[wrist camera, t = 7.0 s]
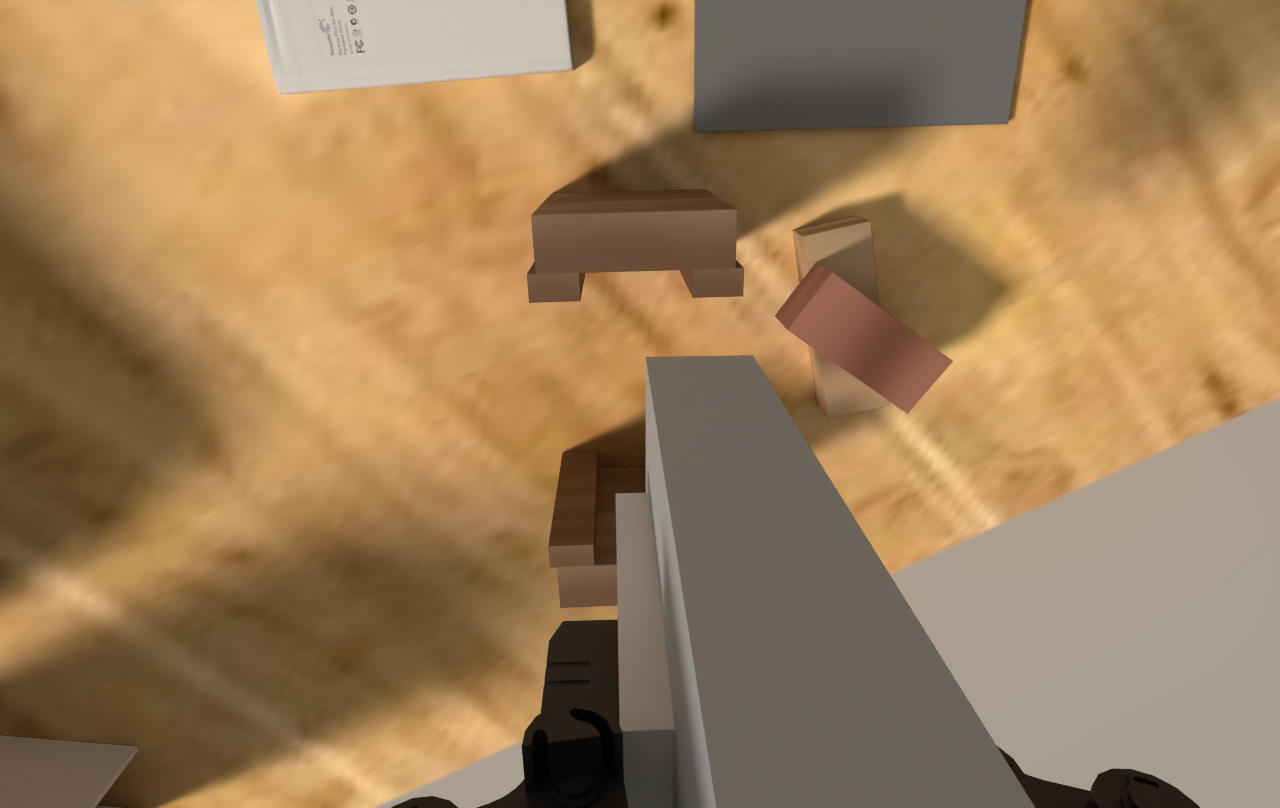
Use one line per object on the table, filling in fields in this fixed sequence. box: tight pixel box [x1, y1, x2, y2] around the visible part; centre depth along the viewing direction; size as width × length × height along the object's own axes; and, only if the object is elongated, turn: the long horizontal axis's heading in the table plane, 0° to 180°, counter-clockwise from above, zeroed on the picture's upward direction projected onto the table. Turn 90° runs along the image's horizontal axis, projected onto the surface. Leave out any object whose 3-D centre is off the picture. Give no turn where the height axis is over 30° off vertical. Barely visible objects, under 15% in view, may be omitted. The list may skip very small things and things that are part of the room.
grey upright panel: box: [646, 355, 1035, 808], centre depth 12 cm, size 8×2×12 cm, turn 0°
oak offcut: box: [792, 216, 889, 419], centre depth 34 cm, size 9×3×2 cm, turn 13°
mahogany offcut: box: [775, 262, 953, 414], centre depth 32 cm, size 7×3×2 cm, turn 55°
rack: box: [527, 189, 744, 608], centre depth 31 cm, size 16×8×9 cm, turn 1°
